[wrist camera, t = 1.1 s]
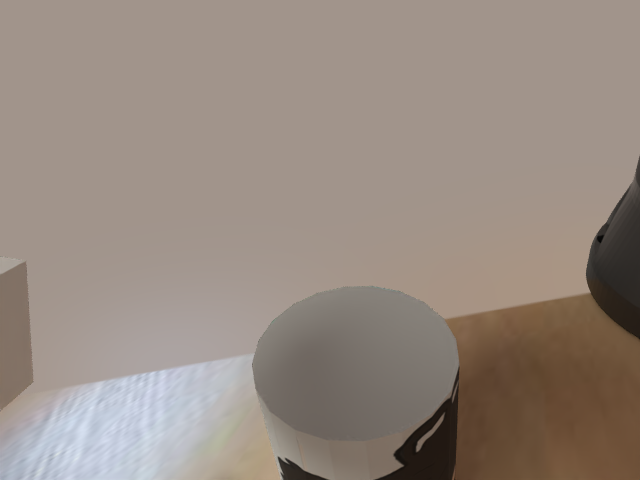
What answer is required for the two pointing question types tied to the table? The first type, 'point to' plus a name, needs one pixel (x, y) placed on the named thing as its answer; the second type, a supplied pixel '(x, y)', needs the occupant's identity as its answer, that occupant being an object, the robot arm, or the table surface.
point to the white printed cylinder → (359, 388)
